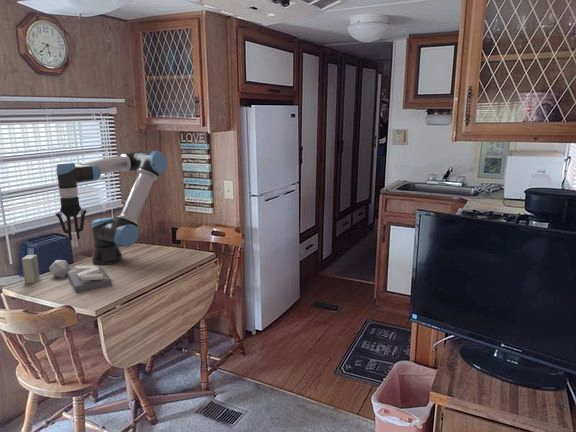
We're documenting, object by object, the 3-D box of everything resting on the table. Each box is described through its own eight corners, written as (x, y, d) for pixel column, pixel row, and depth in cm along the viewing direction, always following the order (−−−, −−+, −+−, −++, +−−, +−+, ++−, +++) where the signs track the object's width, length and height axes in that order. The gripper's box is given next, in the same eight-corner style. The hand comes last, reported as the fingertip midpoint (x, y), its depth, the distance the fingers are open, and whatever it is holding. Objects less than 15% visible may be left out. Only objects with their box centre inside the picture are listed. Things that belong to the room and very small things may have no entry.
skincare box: (30, 279, 208) (27, 254, 205) (40, 278, 208) (37, 254, 206) (24, 283, 202) (20, 258, 199) (34, 283, 202) (31, 258, 200)
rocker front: (80, 277, 195) (80, 274, 195) (101, 276, 201) (101, 273, 200) (81, 280, 192) (82, 277, 192) (103, 279, 197) (103, 276, 197)
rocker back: (75, 268, 207) (75, 265, 207) (95, 268, 212) (95, 265, 212) (76, 271, 203) (76, 268, 203) (97, 270, 208) (97, 267, 208)
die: (55, 281, 206) (66, 264, 206) (42, 271, 207) (53, 254, 208) (66, 281, 214) (77, 265, 214) (53, 272, 215) (64, 255, 216)
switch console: (68, 279, 207) (67, 271, 206) (102, 272, 215) (101, 265, 215) (75, 293, 190) (74, 285, 189) (111, 285, 198) (111, 277, 198)
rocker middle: (77, 276, 201) (76, 273, 201) (97, 269, 206) (97, 266, 206) (79, 278, 198) (78, 276, 197) (99, 271, 202) (98, 269, 202)
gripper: (53, 199, 191) (59, 250, 196) (86, 196, 199) (92, 245, 204) (51, 197, 197) (57, 247, 202) (84, 194, 205) (89, 242, 210)
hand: (75, 246), depth 203 cm, fingers closed
